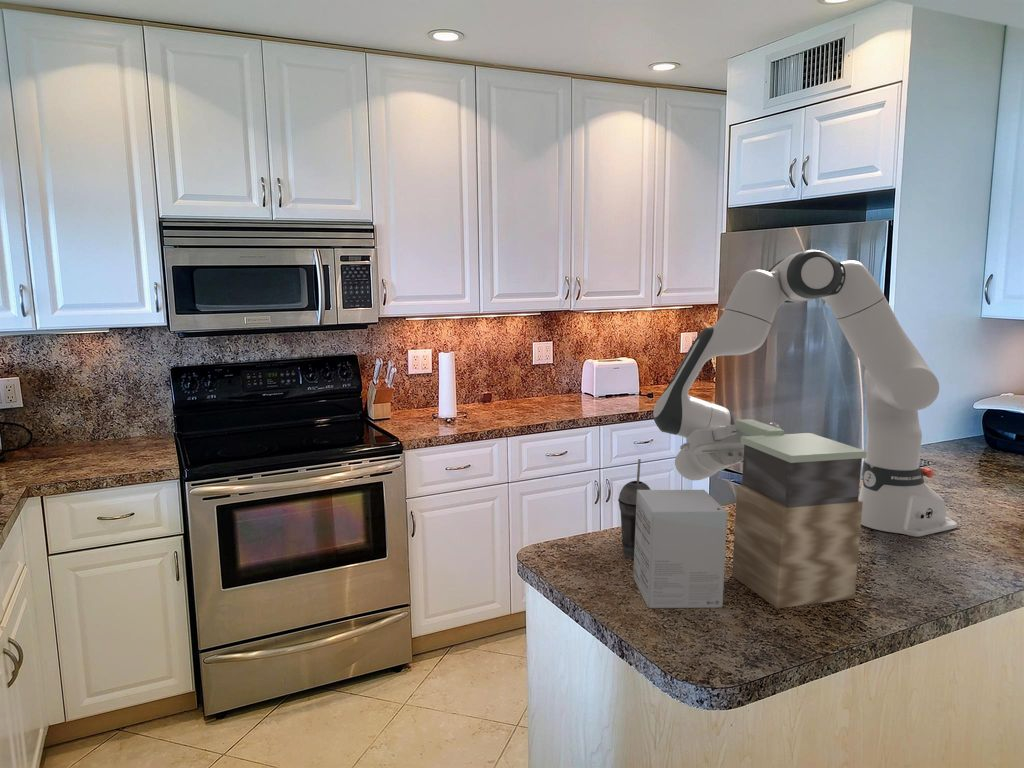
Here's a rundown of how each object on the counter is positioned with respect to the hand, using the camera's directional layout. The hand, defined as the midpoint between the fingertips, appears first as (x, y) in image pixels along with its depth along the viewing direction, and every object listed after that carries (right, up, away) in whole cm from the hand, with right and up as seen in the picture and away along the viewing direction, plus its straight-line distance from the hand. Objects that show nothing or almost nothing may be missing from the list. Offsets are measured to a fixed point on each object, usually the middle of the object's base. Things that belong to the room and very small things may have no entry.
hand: (753, 427), depth 141 cm
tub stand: (+3, -29, -10) cm, 31 cm away
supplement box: (-19, -29, -13) cm, 37 cm away
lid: (+2, -2, -9) cm, 9 cm away
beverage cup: (-23, -27, +5) cm, 36 cm away
